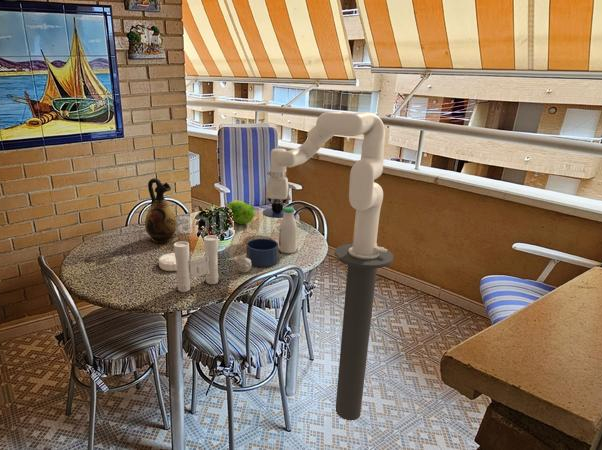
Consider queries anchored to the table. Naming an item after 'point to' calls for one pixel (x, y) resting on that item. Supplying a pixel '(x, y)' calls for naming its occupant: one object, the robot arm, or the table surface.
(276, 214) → the pot lid
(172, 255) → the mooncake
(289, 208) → the milk bottle
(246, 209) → the green fuzzy rounded mound
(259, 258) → the pot
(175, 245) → the binoculars
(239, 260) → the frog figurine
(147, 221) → the ceramic jug
